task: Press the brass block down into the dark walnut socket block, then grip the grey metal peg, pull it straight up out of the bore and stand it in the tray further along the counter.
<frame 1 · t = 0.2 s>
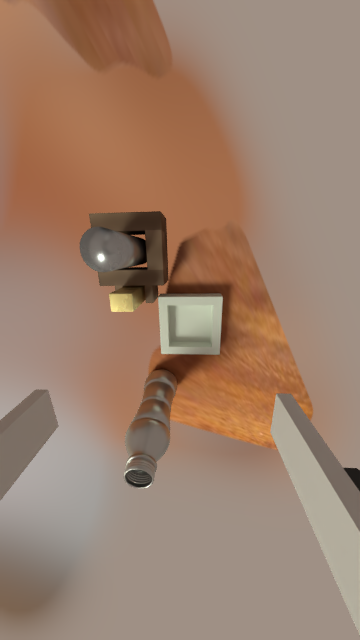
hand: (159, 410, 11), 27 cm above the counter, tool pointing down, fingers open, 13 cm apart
socket block: (138, 251, 34), on the counter
tray: (190, 321, 38), on the counter
grey metal peg: (124, 251, 27), in the socket block
plastic bottle: (162, 377, 43), on the counter
brass block: (130, 296, 30), point 7 cm above the counter, slide at 0.0 cm
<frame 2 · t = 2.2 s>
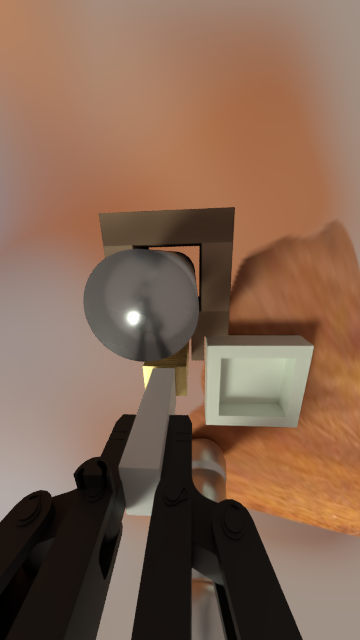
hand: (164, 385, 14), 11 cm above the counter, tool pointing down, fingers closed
socket block: (174, 272, 22), on the counter
tray: (248, 374, 25), on the counter
grey metal peg: (166, 282, 14), in the socket block
plastic bottle: (200, 446, 30), on the counter
brass block: (171, 353, 18), point 6 cm above the counter, slide at 0.6 cm, touching gripper
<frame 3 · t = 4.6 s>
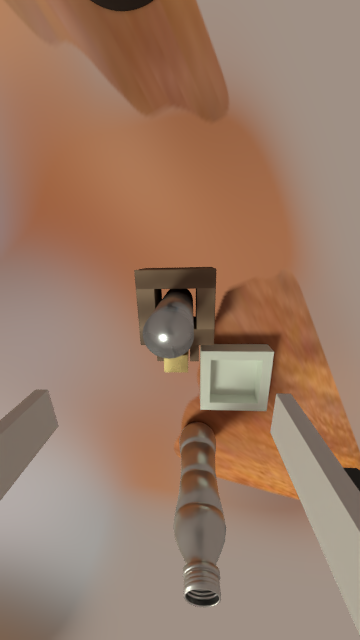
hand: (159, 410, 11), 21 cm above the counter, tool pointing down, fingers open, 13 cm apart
socket block: (178, 300, 31), on the counter
tray: (231, 372, 34), on the counter
grey metal peg: (175, 312, 24), in the socket block
plastic bottle: (197, 429, 39), on the counter
brass block: (177, 350, 29), point 4 cm above the counter, slide at 2.6 cm
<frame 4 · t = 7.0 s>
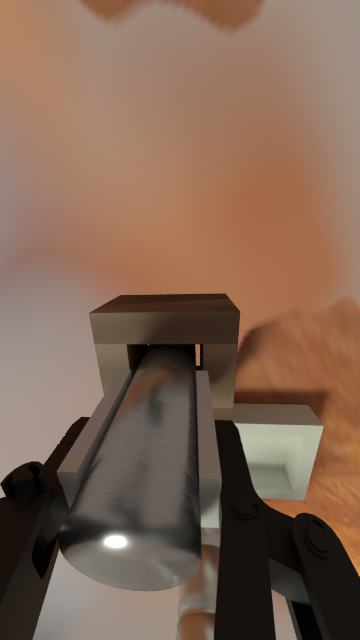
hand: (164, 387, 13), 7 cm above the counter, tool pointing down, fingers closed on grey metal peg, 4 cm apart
socket block: (173, 342, 20), on the counter
tray: (252, 440, 24), on the counter
grey metal peg: (163, 390, 13), in the socket block, touching gripper
plastic bottle: (201, 505, 28), on the counter
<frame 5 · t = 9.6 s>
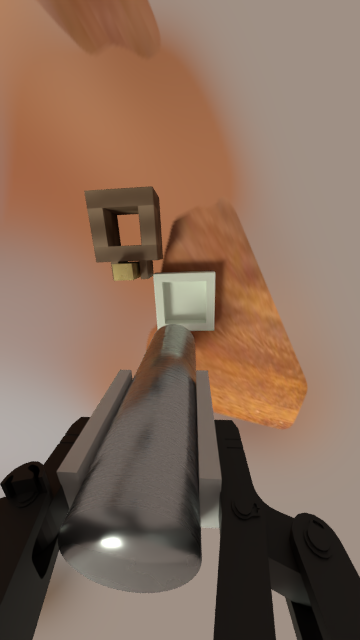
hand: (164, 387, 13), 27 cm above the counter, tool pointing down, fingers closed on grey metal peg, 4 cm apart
socket block: (133, 230, 35), on the counter
tray: (185, 300, 39), on the counter
grey metal peg: (163, 391, 13), point 28 cm above the counter, touching gripper
brass block: (130, 269, 33), point 4 cm above the counter, slide at 2.6 cm
when the fingers open (9 cm above the counter, at t = 12.4 s): grey metal peg stays where it is, resting on tray.
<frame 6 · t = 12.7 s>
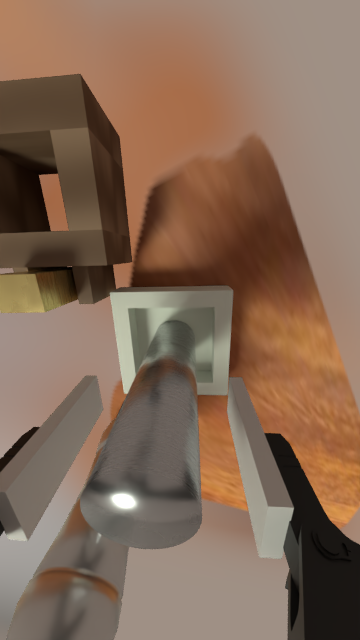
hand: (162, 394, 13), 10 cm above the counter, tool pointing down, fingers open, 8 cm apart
socket block: (73, 207, 18), on the counter
tray: (175, 336, 22), on the counter
grey metal peg: (166, 382, 14), in the tray, point 8 cm above the counter
plastic bottle: (134, 424, 26), on the counter
brass block: (58, 284, 16), point 4 cm above the counter, slide at 2.6 cm
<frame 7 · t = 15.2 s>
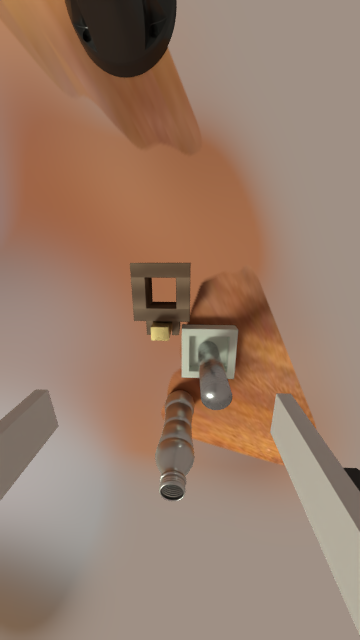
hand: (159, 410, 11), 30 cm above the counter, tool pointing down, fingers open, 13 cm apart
socket block: (165, 288, 39), on the counter
tray: (207, 348, 43), on the counter
grey metal peg: (211, 369, 35), in the tray, point 8 cm above the counter
plastic bottle: (180, 397, 47), on the counter
brass block: (163, 326, 37), point 4 cm above the counter, slide at 2.6 cm
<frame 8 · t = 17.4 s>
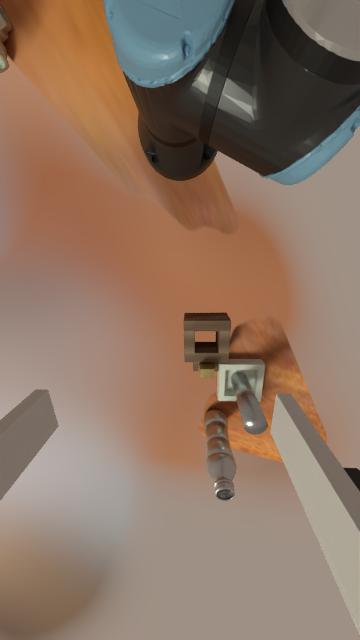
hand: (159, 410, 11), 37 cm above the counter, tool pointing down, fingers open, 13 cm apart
socket block: (205, 332, 49), on the counter
tray: (238, 377, 52), on the counter
grey metal peg: (246, 398, 45), in the tray, point 8 cm above the counter
plastic bottle: (214, 414, 57), on the counter
brass block: (205, 364, 47), point 4 cm above the counter, slide at 2.6 cm
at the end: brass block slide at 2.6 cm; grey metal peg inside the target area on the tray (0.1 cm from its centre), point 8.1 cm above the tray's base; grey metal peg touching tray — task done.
